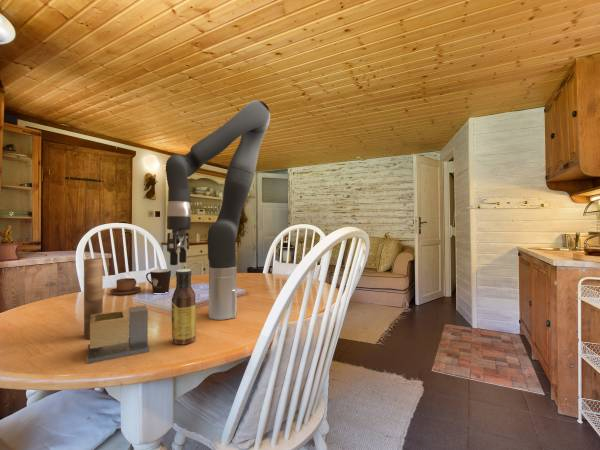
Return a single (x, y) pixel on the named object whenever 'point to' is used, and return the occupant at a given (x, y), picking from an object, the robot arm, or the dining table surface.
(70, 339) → the dining table surface
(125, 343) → the bracket
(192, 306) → the sauce bottle
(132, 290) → the cup and saucer
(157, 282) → the coffee mug
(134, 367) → the dining table surface
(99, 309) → the rod
